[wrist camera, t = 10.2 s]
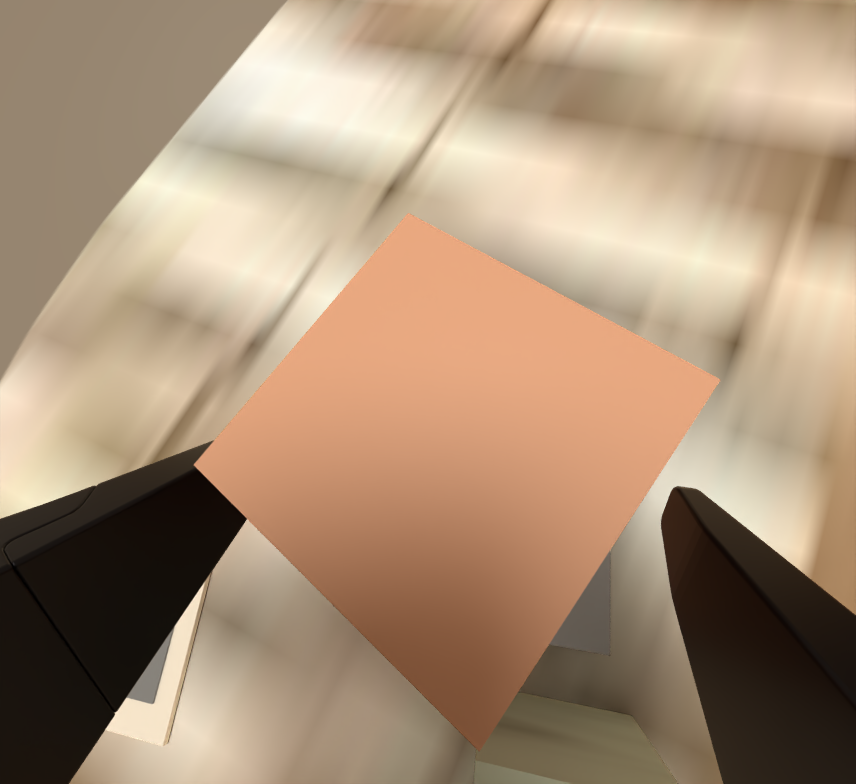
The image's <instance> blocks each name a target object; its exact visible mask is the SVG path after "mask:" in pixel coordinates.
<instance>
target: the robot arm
mask: <svg viewBox="0 0 856 784" xmlns="http://www.w3.org/2000/svg"><path fill="white" fill-rule="evenodd" d="M212 443H213V441H211V442H208V443H206V444H203V445H200V446H198V447H195V448H192V449H190V450H187V451H184V452H182V453H179V454H176V455H174V456H171V457H168V458H166V459H163V460H161V461H158V462H155V463H153V464H150V465H147V466H145V467H142V468H139V469H137V470H134V471H131V472H129V473H126V474H123V475H121V476H118V477H116V478H113V479H110V480H108V481H105V482H102V483H100V484H98V485H97V486H91V487H89V488H86V489H84V490H81V491H78V492H76V493H73V494H70V495H67V496H65V497H62V498H59V499H56V500H54V501H51V502H48V503H45V504H43V505H40V506H37V507H34V508H31V509H28V510H25V511H22V512H19V513H16V514H13V515H10V516H7V517H4V518H1V519H0V784H69V783H70V781H71V780H72V778H73V777H74V775H75V774H76V772H77V771H78V769H79V768H80V766H81V765H82V763H83V762H84V760H85V759H86V757H87V756H88V755H89V753H90V752H91V750H92V749H93V747H94V746H95V744H96V743H97V741H98V740H99V738H100V737H101V735H102V734H103V732H104V731H105V729H106V728H107V726H108V725H109V723H110V722H111V720H112V719H113V718H114V716H115V712H117V711H118V710H119V708H120V707H121V705H122V704H123V702H124V701H125V699H126V698H127V696H128V695H129V693H130V692H131V690H132V689H133V687H134V686H135V684H136V683H137V681H138V680H139V679H140V677H141V676H142V674H143V673H144V671H145V670H146V668H147V667H148V665H149V664H150V662H151V661H152V659H153V658H154V656H155V655H156V653H157V652H158V650H159V649H160V647H161V646H162V644H163V643H164V641H165V640H166V639H167V637H168V636H169V634H170V633H171V631H172V630H173V628H174V627H175V625H176V624H177V622H178V621H179V619H180V618H181V616H182V615H183V613H184V612H185V610H186V609H187V607H188V606H189V604H190V603H191V601H192V600H193V599H194V597H195V596H196V594H197V593H198V591H199V590H200V588H201V587H202V585H203V584H204V582H205V581H206V579H207V578H208V576H209V575H210V573H211V572H212V570H213V569H214V567H215V566H216V564H217V563H218V561H219V560H220V558H221V557H222V556H223V554H224V553H225V551H226V550H227V548H228V547H229V545H230V544H231V542H232V541H233V539H234V538H235V536H236V535H237V533H238V532H239V530H240V529H241V527H242V526H243V524H244V523H245V521H246V520H247V518H246V517H245V516H244V515H243V514H242V513H241V512H240V511H239V510H238V509H237V508H236V507H235V506H234V505H233V504H232V503H231V502H230V501H229V500H228V499H227V498H226V497H225V496H224V495H223V494H222V493H221V492H220V491H219V490H218V489H217V488H216V487H215V486H214V485H213V484H212V483H211V482H210V481H209V480H208V479H207V478H206V477H205V476H204V475H203V474H202V473H201V472H200V471H199V470H198V469H197V468H196V467H195V466H194V464H195V463H196V461H197V460H198V459H199V458H200V457H201V456H202V454H203V453H204V452H205V451H206V450H207V449H208V447H209V446H210V445H211V444H212ZM661 529H662V536H663V542H664V549H665V555H666V562H667V569H668V575H669V582H670V588H671V593H672V599H673V603H674V607H675V611H676V615H677V618H678V622H679V625H680V629H681V633H682V636H683V640H684V643H685V647H686V651H687V654H688V658H689V661H690V665H691V669H692V672H693V676H694V679H695V683H696V687H697V690H698V694H699V697H700V701H701V705H702V708H703V712H704V715H705V719H706V723H707V726H708V730H709V734H710V737H711V741H712V744H713V748H714V752H715V755H716V759H717V762H718V766H719V770H720V773H721V777H722V780H723V784H856V615H855V614H854V613H852V612H851V611H850V610H849V609H847V608H846V607H845V606H844V605H842V604H841V603H840V602H839V601H837V600H836V599H835V598H833V597H832V596H831V595H830V594H828V593H827V592H826V591H825V590H823V589H822V588H821V587H820V586H818V585H817V584H816V583H815V582H813V581H812V580H811V579H810V578H808V577H807V576H806V575H805V574H803V573H802V572H801V571H800V570H798V569H797V568H796V567H795V566H793V565H792V564H791V563H790V562H788V561H787V560H786V559H785V558H783V557H782V556H781V555H780V554H778V553H777V552H776V551H775V550H773V549H772V548H771V547H770V546H768V545H767V544H766V543H765V542H763V541H762V540H761V539H760V538H758V537H757V536H756V535H755V534H753V533H752V532H751V531H750V530H748V529H747V528H746V527H745V526H743V525H742V524H741V523H740V522H738V521H737V520H736V519H735V518H733V517H732V516H731V515H730V514H728V513H727V512H726V511H725V510H723V509H722V508H721V507H719V506H718V505H717V504H716V503H714V502H713V501H712V500H711V499H709V498H708V497H707V496H706V495H704V494H703V493H702V492H701V491H699V490H697V489H694V488H687V487H680V486H677V487H674V488H673V489H672V491H671V493H670V496H669V498H668V501H667V504H666V507H665V509H664V512H663V515H662V519H661Z"/></svg>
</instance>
